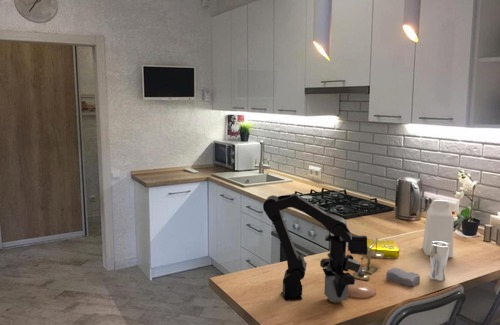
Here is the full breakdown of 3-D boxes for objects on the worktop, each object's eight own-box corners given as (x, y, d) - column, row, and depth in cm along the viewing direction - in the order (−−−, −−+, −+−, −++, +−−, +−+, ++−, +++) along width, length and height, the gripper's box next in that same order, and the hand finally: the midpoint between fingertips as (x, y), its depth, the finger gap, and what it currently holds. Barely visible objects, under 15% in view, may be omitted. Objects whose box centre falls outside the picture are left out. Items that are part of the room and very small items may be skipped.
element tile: (393, 248, 219) (394, 239, 218) (399, 259, 204) (400, 249, 203) (362, 246, 221) (363, 237, 220) (366, 257, 206) (367, 247, 205)
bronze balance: (366, 282, 177) (367, 253, 175) (349, 278, 181) (351, 249, 179) (385, 264, 197) (387, 237, 195) (370, 260, 201) (371, 234, 199)
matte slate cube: (330, 301, 157) (331, 283, 156) (324, 293, 163) (325, 276, 162) (347, 300, 158) (348, 282, 157) (340, 292, 164) (341, 275, 163)
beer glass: (424, 276, 184) (427, 242, 182) (437, 274, 186) (440, 240, 184) (436, 282, 178) (439, 247, 175) (449, 280, 180) (453, 245, 178)
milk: (425, 255, 209) (429, 202, 205) (422, 247, 220) (426, 197, 216) (452, 257, 206) (457, 204, 202) (447, 249, 217) (452, 198, 213)
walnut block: (332, 303, 159) (332, 294, 158) (329, 299, 162) (329, 290, 162) (341, 302, 159) (341, 293, 159) (337, 298, 163) (338, 289, 162)
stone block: (394, 277, 188) (383, 279, 180) (396, 266, 187) (386, 267, 180) (421, 286, 179) (411, 289, 172) (423, 275, 179) (413, 277, 172)
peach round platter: (347, 299, 162) (348, 296, 162) (333, 283, 175) (333, 281, 175) (382, 296, 164) (382, 293, 164) (365, 281, 178) (366, 278, 178)
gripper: (370, 260, 150) (367, 303, 153) (347, 242, 169) (346, 281, 171) (339, 262, 148) (337, 305, 151) (320, 244, 166) (319, 283, 169)
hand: (335, 293), depth 160 cm, fingers closed on matte slate cube, 6 cm apart
